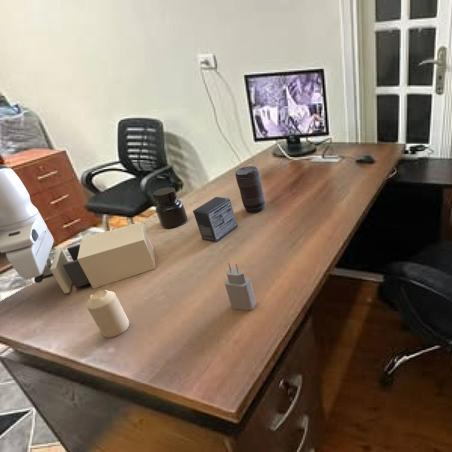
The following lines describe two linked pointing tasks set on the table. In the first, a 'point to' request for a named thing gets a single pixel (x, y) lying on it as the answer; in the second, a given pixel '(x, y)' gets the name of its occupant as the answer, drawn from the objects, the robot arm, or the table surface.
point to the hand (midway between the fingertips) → (49, 273)
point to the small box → (215, 219)
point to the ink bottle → (169, 208)
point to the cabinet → (116, 254)
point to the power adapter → (239, 290)
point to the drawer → (66, 270)
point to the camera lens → (250, 188)
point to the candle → (107, 313)
